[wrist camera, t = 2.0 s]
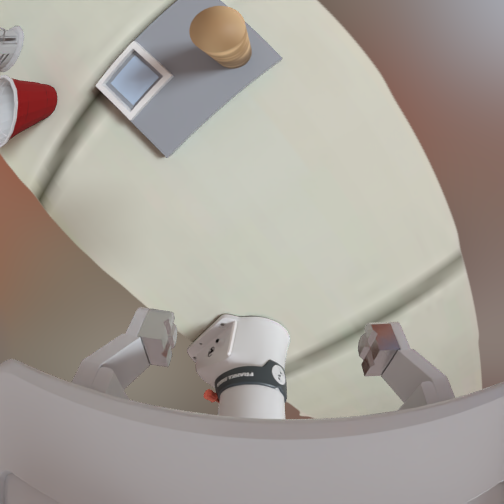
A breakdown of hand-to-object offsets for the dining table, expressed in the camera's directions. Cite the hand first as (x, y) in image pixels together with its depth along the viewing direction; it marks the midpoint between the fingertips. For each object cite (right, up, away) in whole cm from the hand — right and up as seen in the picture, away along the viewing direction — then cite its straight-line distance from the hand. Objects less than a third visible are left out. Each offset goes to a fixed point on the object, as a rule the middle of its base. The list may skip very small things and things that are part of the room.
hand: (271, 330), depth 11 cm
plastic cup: (-35, +28, +20) cm, 49 cm away
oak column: (-3, +28, +16) cm, 32 cm away
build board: (-10, +28, +19) cm, 35 cm away
